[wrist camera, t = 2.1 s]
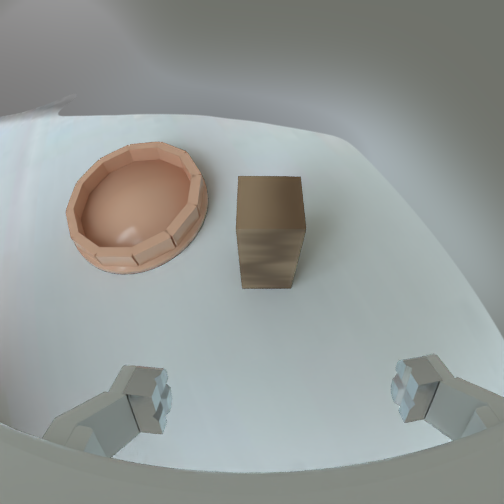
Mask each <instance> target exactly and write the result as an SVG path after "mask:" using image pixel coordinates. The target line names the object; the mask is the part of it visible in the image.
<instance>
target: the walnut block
mask: <svg viewBox="0 0 504 504" xmlns="http://www.w3.org/2000/svg"><path fill="white" fill-rule="evenodd" d="M305 232H306V223H305V213H304V203H303V194H302V184H301V177H288V176H238V193H237V216H236V234H237V244H238V254H239V264H240V273H241V283H242V289H288V288H291V286H292V282H293V278H294V275H295V271H296V267H297V263H298V259H299V255H300V251H301V248H302V244H303V240H304V236H305Z"/></svg>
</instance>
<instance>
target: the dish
mask: <svg viewBox="0 0 504 504" xmlns="http://www.w3.org/2000/svg"><path fill="white" fill-rule="evenodd" d="M207 208H208V194H207V188H206V184H205V181H204V178H203V176H202V174H201V172H200V171H199V169H198V168H197V166H196V165H195V163H194V162H193V160H192V158H191V157H190V155H189V154H188V152H186V151H184V150H182V149H179V148H176V147H174V146H171V145H169V144H166V143H163V142H149V143H138V144H130V146H129V145H127V146H125V147H123V148H120V149H118V150H116V151H114V152H112V153H110V154H108V155H106V156H104V157H102V158H100V160H98V161H97V162H96V163H95V164H94V165H93V166H92V167H91V168H90V169H89V170H88V171H87V172H86V173H85V174H84V175H83V176H82V177H81V178H80V179H79V180H78V181H77V183H76V185H75V187H74V190H73V192H72V195H71V197H70V200H69V203H68V206H67V208H66V216H67V222H68V227H69V231H70V236H71V238H72V240H73V241H74V243H75V245H76V247H77V249H78V250H79V252H80V253H81V254H82V256H83V257H84V258H85V259H86V260H87V261H88V262H89V263H91V264H92V265H93V266H95V267H97V268H98V269H101V270H103V271H105V272H109V273H114V274H135V273H141V272H145V271H148V270H151V269H154V268H156V267H159V266H161V265H163V264H165V263H166V262H168V261H170V260H171V259H173V258H174V257H176V256H177V255H178V254H180V253H181V252H182V251H183V250H184V249H185V248H186V247H187V246H188V245H189V244H190V243H191V242H192V240H193V239H194V238H195V236H196V235H197V233H198V232H199V230H200V228H201V226H202V224H203V222H204V220H205V217H206V214H207Z"/></svg>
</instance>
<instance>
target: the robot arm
mask: <svg viewBox="0 0 504 504" xmlns="http://www.w3.org/2000/svg"><path fill="white" fill-rule="evenodd" d="M396 371H397V373H398V374H397V375H396V376H395V377H394V378H393V380H392V384H391V394H392V398H393V401H394V403H396V404H398V405H399V406H400V408H399V413H400V415H401V417H402V419H403V421H404V423H407V422H412V421H417V420H422V419H425V421H426V422H428V423H429V424H431V425H432V426H433V427H435V428H436V429H438V430H439V431H440V432H442V433H443V434H444V435H446V436H447V437H449V438H450V439H451V440H453V441H451V442H448V443H445V444H442V445H439V446H435V447H432V448H428V449H425V450H421V451H417V452H414V453H410V454H406V455H401V456H397V457H392V458H388V459H383V460H378V461H373V462H367V463H361V464H355V465H349V466H341V467H334V468H325V469H316V470H305V471H290V472H266V473H235V472H211V471H196V470H185V469H176V468H167V467H159V466H152V465H146V464H140V463H134V462H129V461H123V460H118V459H113V458H111V457H112V456H113V455H115V454H116V453H117V452H118V451H119V450H121V449H122V448H123V447H124V446H125V445H127V444H128V443H129V442H130V441H131V440H132V439H134V438H135V437H136V436H137V435H138V434H139V433H140V432H145V433H154V434H163V432H164V429H165V426H166V423H167V419H166V414H168V413H169V412H170V409H171V404H172V393H171V388H170V387H169V386H168V385H167V384H166V383H167V380H168V375H167V371H166V370H165V369H164V368H153V367H144V366H133V365H124V366H123V367H122V369H121V371H120V372H119V374H118V376H117V378H116V379H115V381H114V383H113V385H112V386H111V388H110V390H109V392H103V393H101V394H99V395H98V396H96V397H94V398H92V399H90V400H88V401H86V402H85V403H83V404H81V405H79V406H77V407H75V408H73V409H71V410H69V411H67V412H66V413H64V414H62V415H60V416H58V417H56V418H55V419H54V421H53V422H52V424H51V425H50V427H49V428H48V430H47V431H46V433H45V435H44V436H43V438H42V439H41V438H38V437H35V436H32V435H30V434H27V433H24V432H22V431H19V430H16V429H14V428H12V427H9V426H7V425H4V424H2V423H0V504H504V397H502V396H500V395H497V394H495V393H493V392H490V391H488V390H486V389H483V388H481V387H479V386H477V385H474V384H472V383H470V382H467V381H465V380H463V379H461V378H458V377H457V378H454V376H453V375H452V374H451V372H450V371H449V370H448V369H447V367H446V366H445V365H444V363H443V362H442V361H441V360H440V358H439V357H438V356H437V355H435V354H431V355H426V356H422V357H417V358H410V359H404V360H399V361H398V363H397V365H396Z"/></svg>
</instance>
